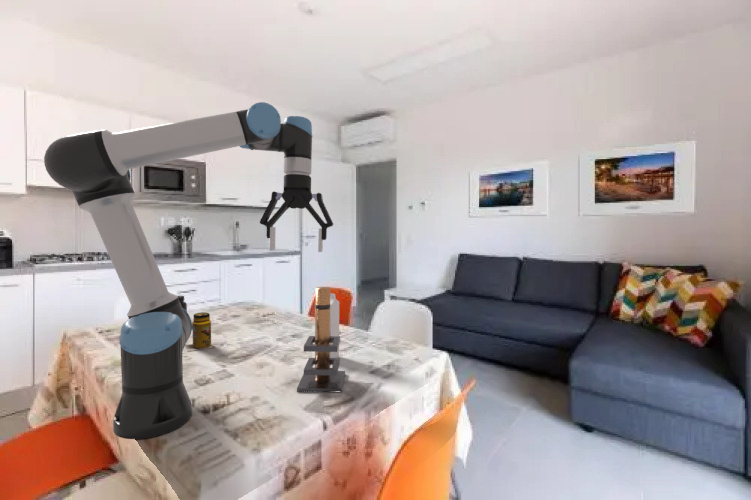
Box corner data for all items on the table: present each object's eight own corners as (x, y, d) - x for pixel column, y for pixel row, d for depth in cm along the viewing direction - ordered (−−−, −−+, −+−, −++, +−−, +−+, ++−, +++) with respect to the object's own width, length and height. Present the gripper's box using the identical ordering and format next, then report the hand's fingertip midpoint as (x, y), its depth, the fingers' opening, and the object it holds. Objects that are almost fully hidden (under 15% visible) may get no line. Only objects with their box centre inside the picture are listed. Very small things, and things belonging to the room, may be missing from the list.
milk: (323, 354, 127) (323, 290, 126) (339, 356, 125) (339, 292, 124) (314, 360, 122) (314, 293, 120) (330, 362, 120) (331, 295, 118)
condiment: (213, 347, 132) (213, 314, 132) (187, 351, 128) (186, 317, 127) (210, 342, 138) (209, 310, 138) (184, 345, 134) (184, 313, 133)
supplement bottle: (170, 322, 164) (169, 295, 164) (187, 320, 167) (187, 294, 166) (168, 326, 158) (168, 298, 157) (186, 324, 161) (186, 297, 160)
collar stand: (342, 392, 99) (342, 344, 98) (296, 391, 99) (297, 344, 98) (345, 374, 111) (345, 331, 110) (305, 373, 111) (305, 331, 110)
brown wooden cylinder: (328, 382, 103) (329, 289, 101) (313, 382, 103) (314, 289, 101) (330, 376, 107) (331, 286, 105) (316, 376, 107) (316, 286, 105)
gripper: (343, 178, 107) (341, 251, 108) (257, 175, 107) (257, 248, 109) (340, 174, 99) (338, 253, 101) (248, 171, 100) (247, 250, 101)
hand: (296, 251), depth 105 cm, fingers open, 13 cm apart
